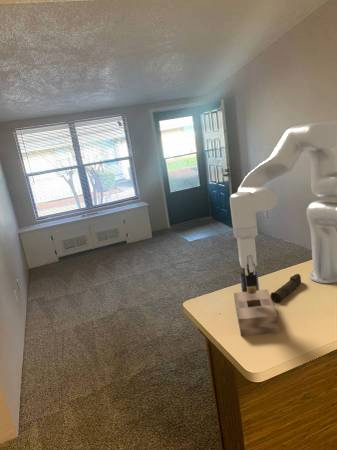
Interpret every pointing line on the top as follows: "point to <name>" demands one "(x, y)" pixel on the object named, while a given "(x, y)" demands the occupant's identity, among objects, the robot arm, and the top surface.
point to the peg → (250, 289)
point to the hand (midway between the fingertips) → (251, 282)
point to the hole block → (256, 313)
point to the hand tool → (286, 288)
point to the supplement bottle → (243, 282)
